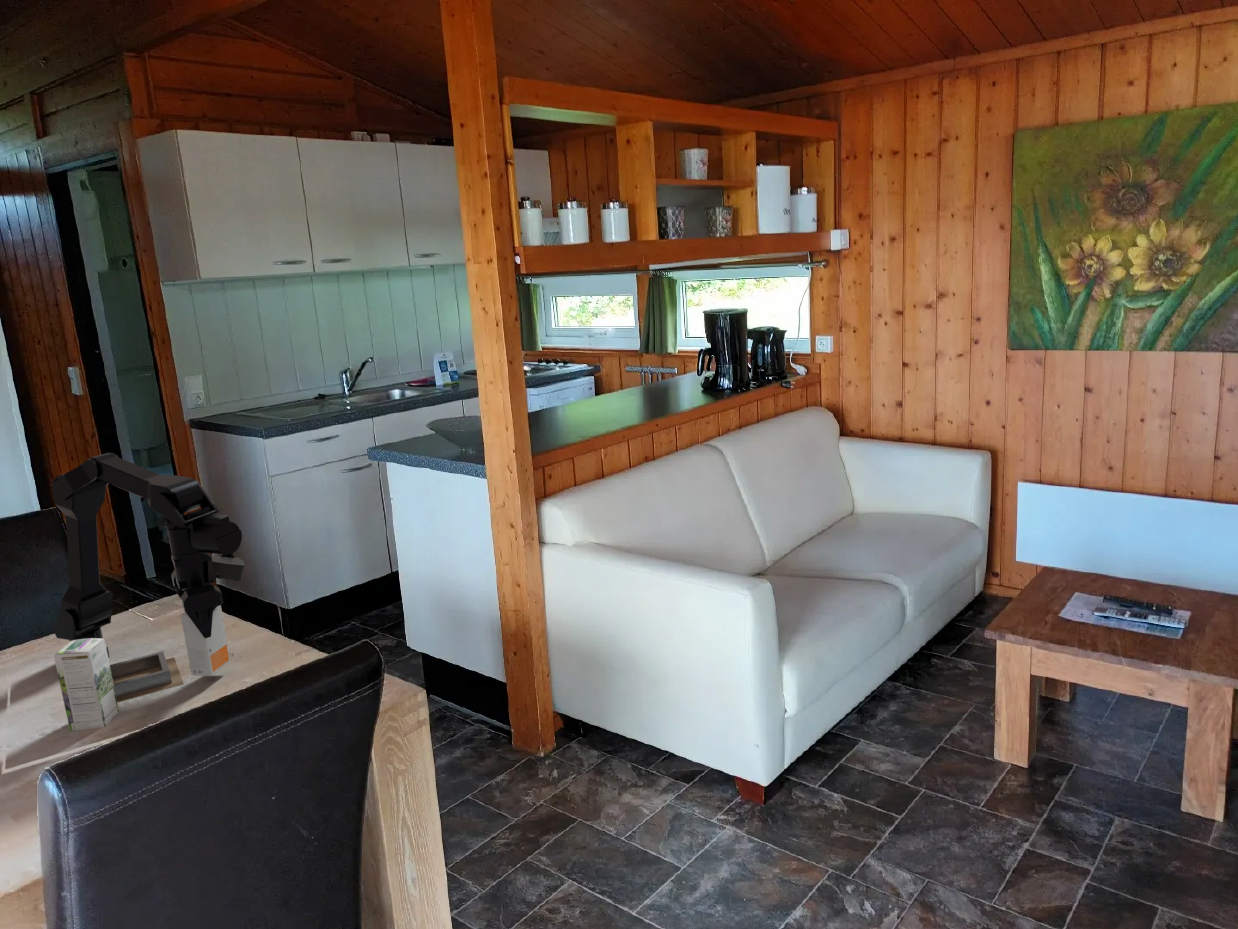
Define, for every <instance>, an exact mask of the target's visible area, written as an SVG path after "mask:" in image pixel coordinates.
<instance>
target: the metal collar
mask: <svg viewBox="0 0 1238 929" xmlns="http://www.w3.org/2000/svg"><path fill="white" fill-rule="evenodd" d="M156 667H161V670H162V671H159V672H155V673H151V674H148V675H144V676H140V677H136V678H133V679H129V680H125V681H122V682H118V683H114V689H115V694H116V699H117V698H120V697H124V696H128V695H131V694H135V693H138V692H142V691H146V690H149V689H153V688H156V687H160V686H164V685H167V684H171V683H172V681H171V676H170V671H169V668H168V665H167V662H166V655H165V653H164V650H162V651H159V652H155V653H151V654H147V655H143V656H139V657H135V658H132V659H128V660H124V661H120V662H117V663H112V664H110V669H111V674H112V679H115V678H119V677H123V676H126V675H130V674H134V673H138V672H141V671H145V670H149V669H152V668H156Z"/></svg>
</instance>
